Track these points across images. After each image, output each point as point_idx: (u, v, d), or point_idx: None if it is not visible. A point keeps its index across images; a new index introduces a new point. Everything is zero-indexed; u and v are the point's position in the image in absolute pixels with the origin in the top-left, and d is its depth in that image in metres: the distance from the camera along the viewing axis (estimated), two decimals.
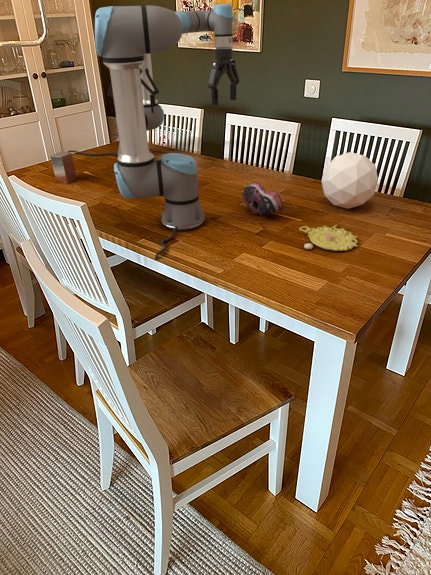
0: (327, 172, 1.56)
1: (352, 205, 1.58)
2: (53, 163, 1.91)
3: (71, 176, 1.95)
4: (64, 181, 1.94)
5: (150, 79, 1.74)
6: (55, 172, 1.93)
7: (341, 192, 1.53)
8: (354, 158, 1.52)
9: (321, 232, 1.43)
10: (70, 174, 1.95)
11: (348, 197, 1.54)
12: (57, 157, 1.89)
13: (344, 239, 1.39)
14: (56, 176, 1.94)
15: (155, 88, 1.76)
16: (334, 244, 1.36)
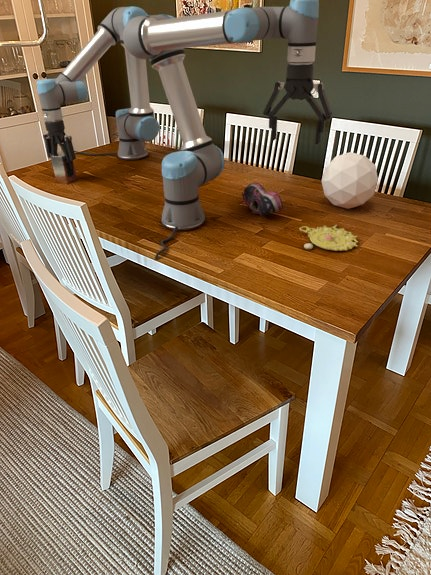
0: (327, 172, 1.56)
1: (352, 205, 1.58)
2: (53, 163, 1.91)
3: (71, 176, 1.95)
4: (64, 181, 1.94)
5: None
6: (55, 172, 1.93)
7: (341, 192, 1.53)
8: (354, 158, 1.52)
9: (321, 232, 1.43)
10: None
11: (348, 197, 1.54)
12: (57, 157, 1.89)
13: (344, 239, 1.39)
14: (56, 176, 1.94)
15: None
16: (334, 244, 1.36)
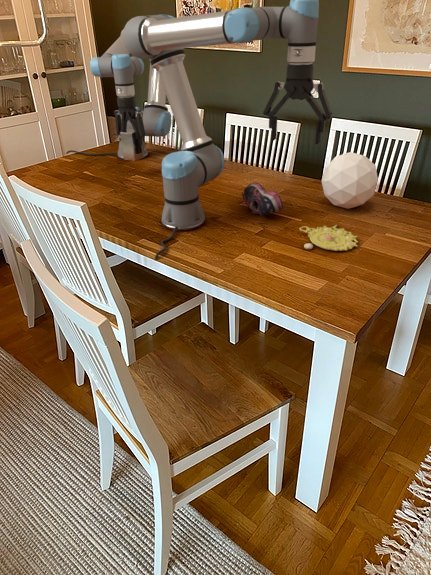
0: (327, 172, 1.56)
1: (352, 205, 1.58)
2: (122, 140, 1.91)
3: None
4: (132, 158, 1.93)
5: None
6: (123, 149, 1.93)
7: (341, 192, 1.53)
8: (354, 158, 1.52)
9: (321, 232, 1.43)
10: None
11: (348, 197, 1.54)
12: (127, 134, 1.88)
13: (344, 239, 1.39)
14: (124, 153, 1.94)
15: None
16: (334, 244, 1.36)
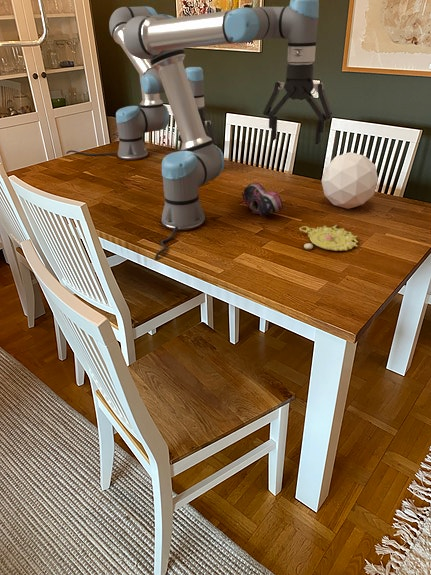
0: (327, 172, 1.56)
1: (352, 205, 1.58)
2: None
3: None
4: None
5: None
6: None
7: (341, 192, 1.53)
8: (354, 158, 1.52)
9: (321, 232, 1.43)
10: None
11: (348, 197, 1.54)
12: None
13: (344, 239, 1.39)
14: None
15: None
16: (334, 244, 1.36)
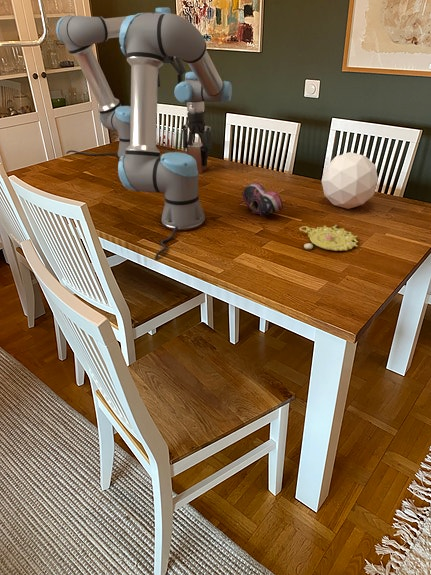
0: (327, 172, 1.56)
1: (352, 205, 1.58)
2: (189, 153, 1.99)
3: None
4: (198, 170, 2.01)
5: None
6: None
7: (341, 192, 1.53)
8: (354, 158, 1.52)
9: (321, 232, 1.43)
10: None
11: (348, 197, 1.54)
12: (195, 147, 1.96)
13: (344, 239, 1.39)
14: None
15: None
16: (334, 244, 1.36)
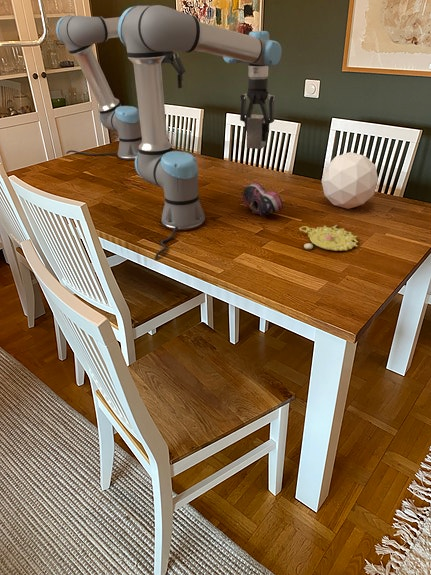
0: (327, 172, 1.56)
1: (352, 205, 1.58)
2: (248, 126, 1.76)
3: (264, 141, 1.80)
4: (257, 146, 1.79)
5: None
6: (248, 136, 1.78)
7: (341, 192, 1.53)
8: (354, 158, 1.52)
9: (321, 232, 1.43)
10: None
11: (348, 197, 1.54)
12: (256, 119, 1.73)
13: (344, 239, 1.39)
14: (248, 141, 1.79)
15: None
16: (334, 244, 1.36)
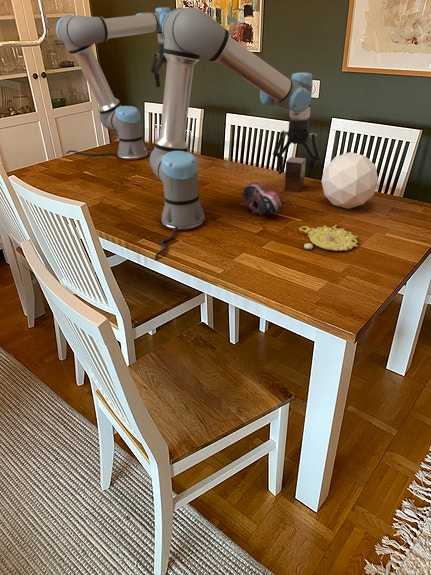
0: (327, 172, 1.56)
1: (352, 205, 1.58)
2: (287, 170, 1.75)
3: (302, 183, 1.79)
4: (296, 189, 1.78)
5: None
6: (287, 179, 1.77)
7: (341, 192, 1.53)
8: (354, 158, 1.52)
9: (321, 232, 1.43)
10: (301, 182, 1.78)
11: (348, 197, 1.54)
12: (295, 163, 1.72)
13: (344, 239, 1.39)
14: (286, 184, 1.78)
15: None
16: (334, 244, 1.36)
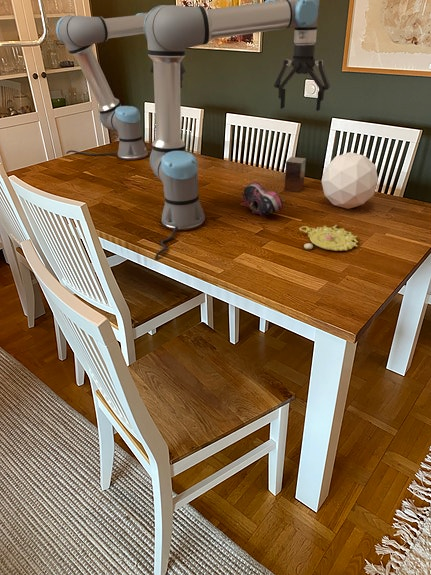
0: (327, 172, 1.56)
1: (352, 205, 1.58)
2: (287, 170, 1.75)
3: (302, 183, 1.79)
4: (296, 189, 1.78)
5: None
6: (287, 179, 1.77)
7: (341, 192, 1.53)
8: (354, 158, 1.52)
9: (321, 232, 1.43)
10: (301, 182, 1.78)
11: (348, 197, 1.54)
12: (295, 163, 1.72)
13: (344, 239, 1.39)
14: (286, 184, 1.78)
15: None
16: (334, 244, 1.36)
